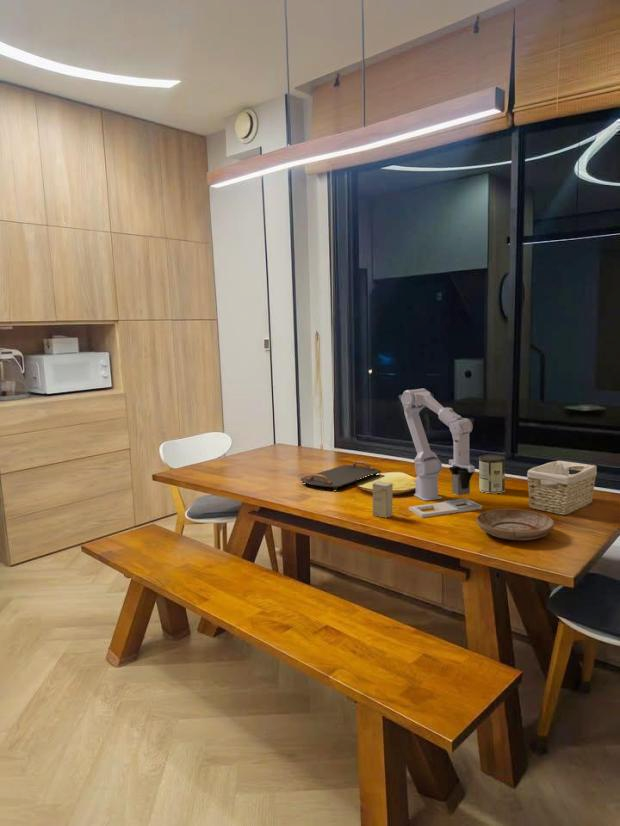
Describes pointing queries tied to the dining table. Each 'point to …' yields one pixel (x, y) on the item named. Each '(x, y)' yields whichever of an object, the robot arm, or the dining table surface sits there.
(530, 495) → the storage basket
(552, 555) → the dining table surface
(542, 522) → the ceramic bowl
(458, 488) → the plug
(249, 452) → the dining table surface
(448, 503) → the two-tone slotted frame
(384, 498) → the skincare box
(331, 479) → the serving board
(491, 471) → the coffee can
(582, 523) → the dining table surface
